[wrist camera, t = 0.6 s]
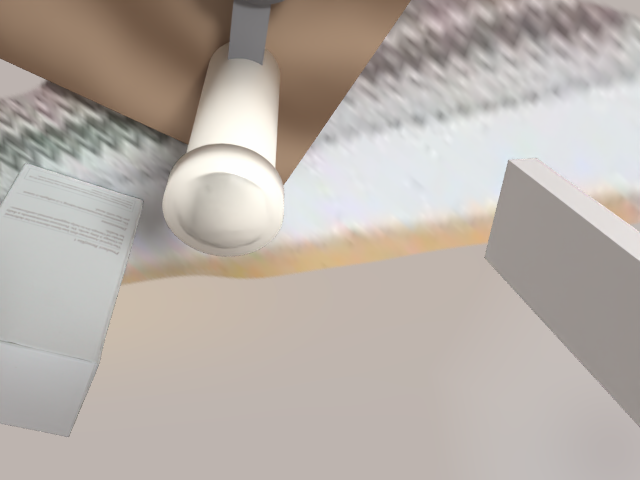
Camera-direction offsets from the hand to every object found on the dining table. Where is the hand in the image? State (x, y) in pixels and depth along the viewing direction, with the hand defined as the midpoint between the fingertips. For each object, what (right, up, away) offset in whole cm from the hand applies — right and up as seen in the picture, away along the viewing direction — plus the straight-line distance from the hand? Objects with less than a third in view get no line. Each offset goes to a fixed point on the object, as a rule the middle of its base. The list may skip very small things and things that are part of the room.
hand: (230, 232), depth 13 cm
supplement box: (-14, +1, +26) cm, 29 cm away
